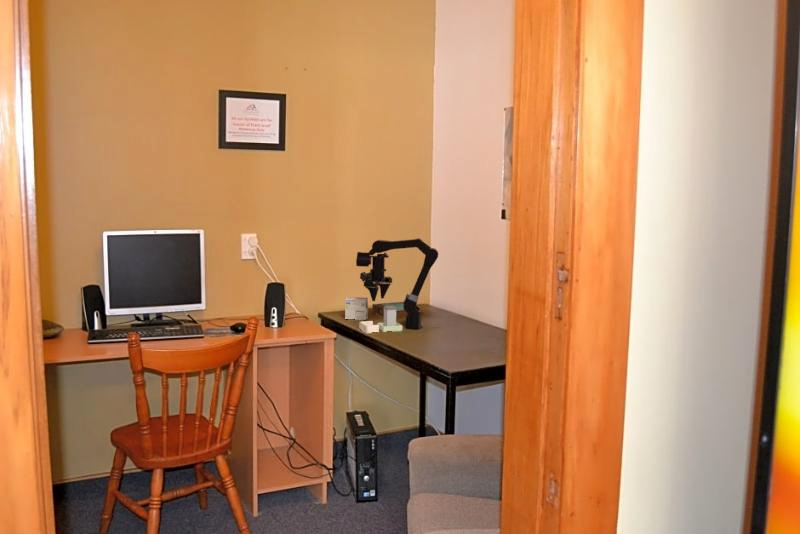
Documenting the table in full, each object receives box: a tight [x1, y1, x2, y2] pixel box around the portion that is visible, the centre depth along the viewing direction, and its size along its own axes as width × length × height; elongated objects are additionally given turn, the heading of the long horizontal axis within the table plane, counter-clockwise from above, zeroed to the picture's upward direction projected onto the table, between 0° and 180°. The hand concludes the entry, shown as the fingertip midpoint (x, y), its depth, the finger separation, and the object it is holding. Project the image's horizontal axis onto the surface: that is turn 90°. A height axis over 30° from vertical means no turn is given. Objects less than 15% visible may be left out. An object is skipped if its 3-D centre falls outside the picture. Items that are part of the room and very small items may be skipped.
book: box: [371, 301, 422, 320], centre depth 368 cm, size 23×18×5 cm
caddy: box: [383, 306, 397, 326], centre depth 331 cm, size 4×5×10 cm
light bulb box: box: [344, 296, 369, 321], centre depth 355 cm, size 11×7×11 cm, turn 84°
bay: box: [358, 320, 380, 334], centre depth 328 cm, size 6×10×4 cm, turn 20°
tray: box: [376, 321, 403, 333], centre depth 331 cm, size 9×9×2 cm
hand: (378, 299), depth 335 cm, fingers open, 9 cm apart
